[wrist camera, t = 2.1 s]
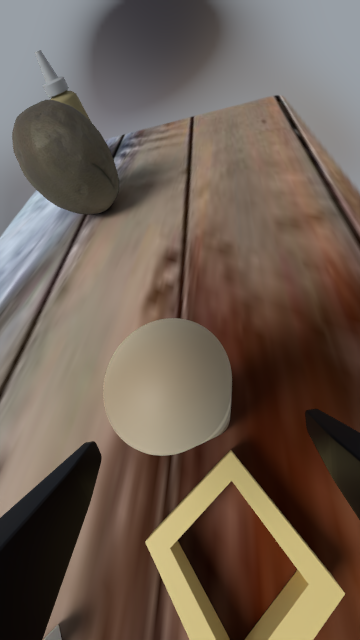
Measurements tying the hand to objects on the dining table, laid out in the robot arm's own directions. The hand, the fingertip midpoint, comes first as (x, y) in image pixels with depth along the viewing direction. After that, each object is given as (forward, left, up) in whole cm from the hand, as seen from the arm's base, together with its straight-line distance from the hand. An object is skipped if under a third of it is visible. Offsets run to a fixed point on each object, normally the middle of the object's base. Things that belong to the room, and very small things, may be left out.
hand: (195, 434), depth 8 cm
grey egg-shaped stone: (+42, -9, -10) cm, 44 cm away
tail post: (+1, -1, -10) cm, 10 cm away
